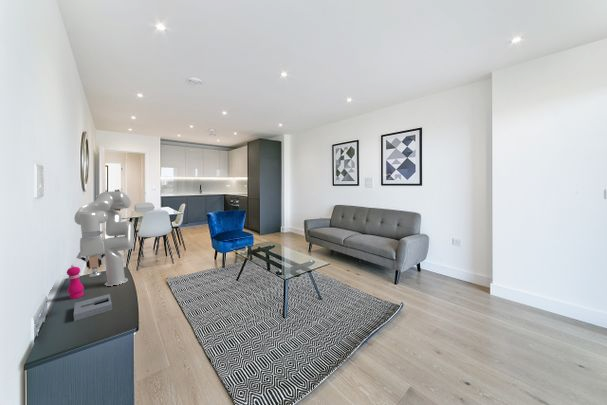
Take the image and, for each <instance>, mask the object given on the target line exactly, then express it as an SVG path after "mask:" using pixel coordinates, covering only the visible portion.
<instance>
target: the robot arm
mask: <svg viewBox="0 0 607 405" xmlns="http://www.w3.org/2000/svg"><path fill="white" fill-rule="evenodd" d="M131 204H132V202H131V198H130V197H129V196H128V195H127V194H126V193H125V192H123V191H121V190H119V191H118V190H114V191H103V192H100V193H99V195H98V196H97V198H96V199H95V200H94V201H93V202H91V203H90V202H89V203H87V204H85V205H83V206H81V207H79V209H78V210H77V211H76V212H75V215H74V222H75V223H76V224H77V225H79V226H80V230H81V231H80V232H81V237H80V239H79V253H78V254H77V255H76V259H77V260H82V261H84V262H85V263H86V264H85V265H86V268H88V270H91V268H90V263H89V256H93V255H98V265H99V267H98V268H101V266H102V263H103V262H102V259H103V258H104V263H105V273H106V280H107V281H106V282H105V283H104V286H105V285H106V286H105V287H107V286H111V287H114V286H113V285H117V286H120V285H123V284H125V283H126V282H128V280H129V279H128V278H127V277H125V269H124V257H123V255H122V254H121V253H120V252H121V251H128V250H131V249H133V248H134V243H135V242H134V241H135V237H134V236H135V235H134V234H135V227H134V224H133V222H131V221H128V220H127V221H122V215H121V213H119V212H118V211H117V210H123V209H129V208H130V207H131ZM104 223H105V230H104V231H105V234H106V236H108V238H103V236H102V234H104V231H103V230H100V224H104ZM122 283H123V284H122ZM119 284H120V285H119Z"/></svg>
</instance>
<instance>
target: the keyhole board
mask: <svg viewBox="0 0 607 405" xmlns="http://www.w3.org/2000/svg"><path fill="white" fill-rule="evenodd" d="M111 299H112V298H111V294H110V293H108V294H104V295H100V296H95V297H93V298H89V299H85V300H81V301H76V302H74V306H73V307H74V309H73V322H75V321H79V320H83V319H86V318H90V317H92V316H95V315H100V314H102V313H107V312H110V311H112V310H113V302H112V300H111Z"/></svg>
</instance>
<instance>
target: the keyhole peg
mask: <svg viewBox="0 0 607 405" xmlns="http://www.w3.org/2000/svg"><path fill="white" fill-rule="evenodd" d="M88 260H89V263H90V269H91V270H92V273H89V278H95V277H99V276H101V275H102V272H101V271H98V268H100V267H99V265H98V255H92V256H89V258H88Z"/></svg>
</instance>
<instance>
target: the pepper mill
mask: <svg viewBox="0 0 607 405" xmlns="http://www.w3.org/2000/svg"><path fill="white" fill-rule="evenodd" d="M80 273H81V269H80V267H79V266H76V265H75V264H71V265H70V267H69V268H68V269H67V270H66V274H67V275H68V279H69V285H68V288H67V293H68V294H69V299H70V300H76V299H79V298H82V297H83V296H84V289H85V287H84V285H83V283H81V281H80V280H81V279H80V277H81V274H80Z"/></svg>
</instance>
